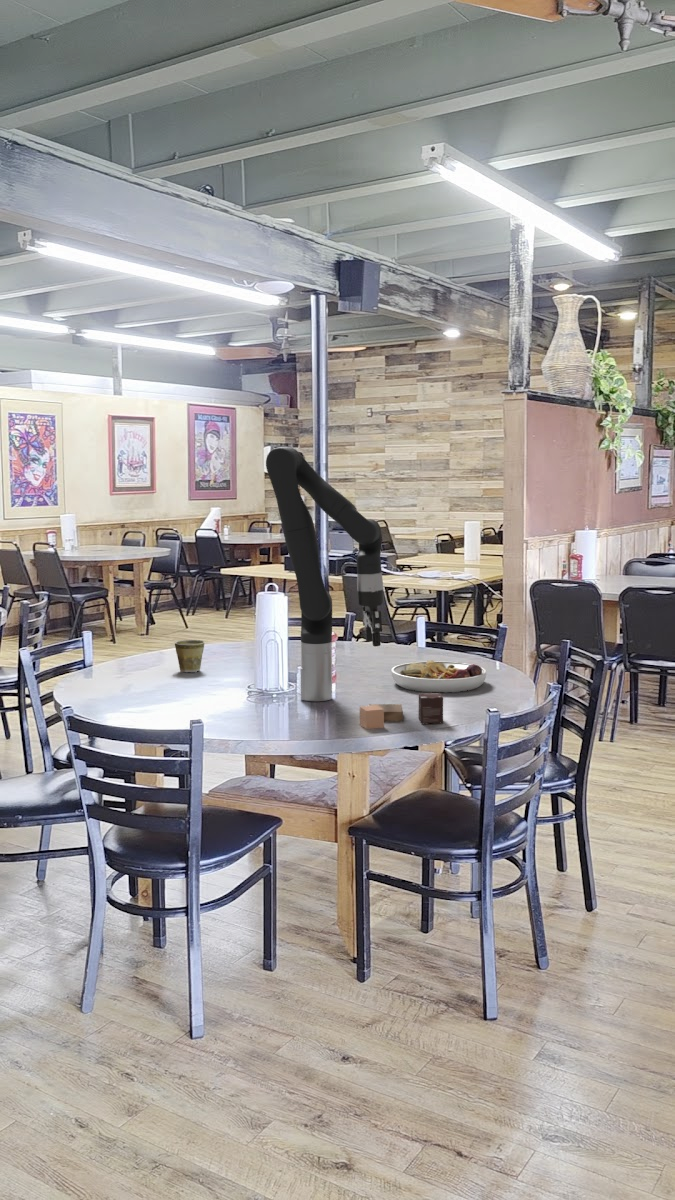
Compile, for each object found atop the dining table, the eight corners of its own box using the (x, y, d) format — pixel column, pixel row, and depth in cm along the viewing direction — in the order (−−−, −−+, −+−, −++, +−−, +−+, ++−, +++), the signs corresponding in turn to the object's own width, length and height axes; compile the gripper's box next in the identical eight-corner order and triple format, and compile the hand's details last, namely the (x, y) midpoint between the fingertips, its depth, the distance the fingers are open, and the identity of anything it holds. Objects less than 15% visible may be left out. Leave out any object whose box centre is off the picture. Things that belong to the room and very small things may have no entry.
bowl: (375, 689, 315) (375, 664, 314) (414, 673, 341) (414, 650, 340) (466, 699, 301) (466, 673, 300) (499, 681, 327) (499, 657, 326)
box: (440, 719, 275) (440, 692, 274) (443, 724, 269) (443, 697, 268) (418, 719, 275) (418, 692, 274) (420, 724, 269) (420, 697, 268)
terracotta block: (366, 729, 265) (366, 710, 264) (359, 725, 269) (359, 706, 269) (383, 727, 266) (383, 709, 265) (377, 723, 271) (377, 705, 270)
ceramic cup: (202, 674, 339) (202, 644, 338) (173, 674, 339) (172, 644, 338) (208, 666, 352) (207, 638, 350) (179, 666, 352) (179, 638, 351)
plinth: (369, 722, 273) (369, 711, 273) (369, 714, 282) (369, 704, 282) (402, 722, 273) (402, 711, 273) (401, 714, 282) (401, 704, 282)
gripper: (352, 587, 298) (355, 641, 300) (362, 592, 284) (366, 648, 286) (377, 585, 299) (380, 638, 301) (388, 590, 285) (391, 646, 287)
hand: (373, 643), depth 294 cm, fingers open, 8 cm apart
